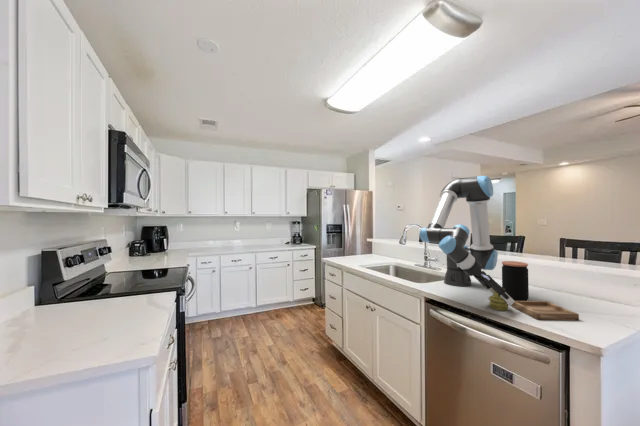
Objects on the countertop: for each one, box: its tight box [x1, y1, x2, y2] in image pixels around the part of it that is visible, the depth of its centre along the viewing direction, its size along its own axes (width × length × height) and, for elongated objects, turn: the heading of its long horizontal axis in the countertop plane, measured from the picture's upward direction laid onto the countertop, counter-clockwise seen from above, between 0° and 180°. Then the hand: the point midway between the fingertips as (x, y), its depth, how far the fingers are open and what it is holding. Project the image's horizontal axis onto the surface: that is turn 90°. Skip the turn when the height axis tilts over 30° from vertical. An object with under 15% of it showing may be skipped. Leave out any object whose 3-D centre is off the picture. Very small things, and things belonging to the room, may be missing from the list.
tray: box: [510, 300, 580, 321], centre depth 114 cm, size 16×16×2 cm
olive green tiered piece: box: [488, 286, 510, 312], centre depth 120 cm, size 7×7×10 cm
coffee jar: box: [501, 260, 530, 301], centre depth 133 cm, size 11×11×18 cm
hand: (506, 300), depth 119 cm, fingers closed on olive green tiered piece, 7 cm apart
